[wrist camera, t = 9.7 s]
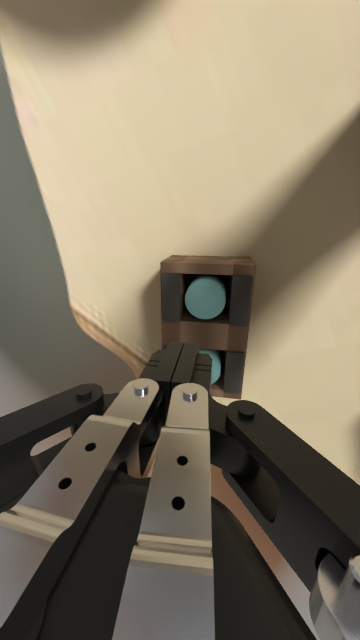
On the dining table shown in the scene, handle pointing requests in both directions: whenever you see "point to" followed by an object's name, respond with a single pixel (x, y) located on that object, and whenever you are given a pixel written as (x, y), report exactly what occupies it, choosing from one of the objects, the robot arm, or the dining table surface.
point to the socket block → (215, 332)
